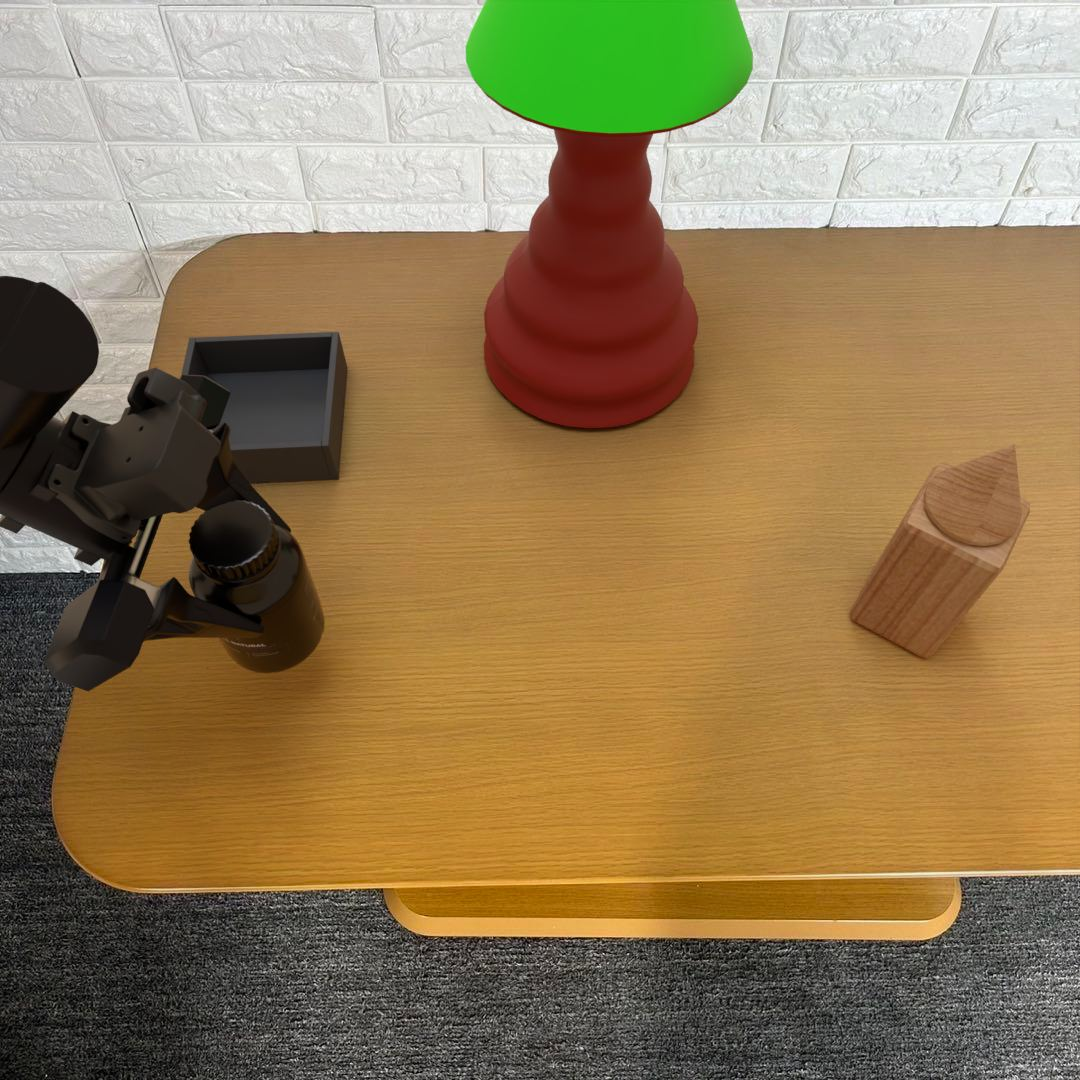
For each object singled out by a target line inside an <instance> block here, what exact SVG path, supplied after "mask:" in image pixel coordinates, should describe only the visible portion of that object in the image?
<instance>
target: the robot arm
mask: <svg viewBox="0 0 1080 1080" xmlns="http://www.w3.org/2000/svg"><path fill="white" fill-rule="evenodd" d="M99 355H100V347H99V341H98V337H97V334H96V332H95V329H94V327H93V324H92V323H91V321H90V320H89V319H88V317H87V316H86V314H85V313H84V311H83V309H81V308H80V307H79V306H78V305H77V304H76V303H75V302H74V301H73V300H72V299H71V298H70V297H68V296H67V295H66V294H64V292H63V293H62V292H61V291H60V290H59V289H58V288H56V287H53V286H52V285H50V284H48V283H47V282H44V281H38V282H37V281H34V280H31V279H28V278H24V277H19V276H12V275H10V276H9V275H0V515H1V516H0V528H2V529H3V530H6V531H9V532H11V533H14V534H16V535H17V534H18V533H19V532H20V531H21V530H22V529H23V528H24V527H25V526H26V527H28V528H31V529H33V530H35V531H37V532H40V533H42V534H44V535H47V536H50V537H52V538H54V539H56V540H58V541H61V542H62V543H65V544H67V545H69V546H71V547H74V548H77V550H76V552H75V554H74V557H73V559H74V560H76V561H79V562H80V563H83V564H85V565H88V566H90V567H92V566H94V565H95V564H96V563H97V562H99V561H100V560H101V559H102V560H104V561H105V562H104V564H103V566H102V569H101V572H100V574H99V576H98V578H97V581H96V582H95V583H94V584H93V585H91V586H90V587H88V588H87V589H86V590H85V591H83V592H82V593H81V594H80V595H78V596H77V597H76V598H74V599H73V600H72V601H70V602H69V603H68V604H66V606H65V608H64V610H63V612H62V614H61V618H60V620H59V622H58V625H57V627H56V629H55V631H54V634H53V636H52V639H51V641H50V644H49V647H48V649H47V651H46V654H45V656H44V658H43V661H42V663H43V664H44V666H45V667H46V668H47V670H48V671H49V673H50V675H51V676H53V677H54V678H55V680H57V682H60V683H63V684H65V685H68V686H71V687H74V688H78V689H80V690H83V691H86V692H90V691H92V690H94V689H95V688H97V687H99V686H101V685H103V684H104V683H105V682H107V681H109V680H111V679H112V678H115V677H116V676H117V675H120V674H121V673H123V672H124V671H126V670H128V669H129V668H131V667H132V665H133V664H134V663H135V661H136V659H137V658H138V656H139V654H140V652H141V650H142V646H143V644H144V643H145V642H146V641H156V640H168V639H182V638H183V639H184V638H187V639H188V638H189V639H191V638H193V639H194V638H195V639H197V638H198V639H199V638H201V639H204V638H205V639H210V638H211V639H219V638H257V637H259V636H261V635H262V634H263V633H264V630H265V628H264V627H263V626H261V625H259V624H258V623H256V622H254V621H252V620H251V619H249V618H247V617H245V616H242V615H240V614H237V613H235V612H232V611H230V610H227V609H224V608H222V607H219V606H217V605H214V604H212V603H209V602H207V601H204V600H202V599H199V598H197V597H195V596H194V595H192V594H190V593H189V592H188V591H187V590H186V589H185V587H184V586H183V585H182V584H181V582H180V581H179V580H178V579H177V578H176V577H173V576H172V577H171V578H170V579H168V580H166V581H165V582H164V583H162V584H161V585H160V586H158V585H155V584H154V583H151V582H148V581H146V580H144V579H141V575H142V572H143V570H144V568H145V565H146V563H147V560H148V556H149V554H150V551H151V548H152V545H153V544H154V540H155V538H156V535H157V532H158V530H159V526H160V524H161V522H162V519H163V516H164V515H168V514H170V513H176V514H183V513H187V512H189V511H191V510H193V509H195V508H196V509H200V510H202V511H204V512H205V511H206V510H208V509H210V508H211V507H212V506H215V505H218V504H219V503H222V502H223V503H224V502H227V501H234V500H239V501H242V500H245V501H247V502H253V503H254V504H257V505H259V506H260V507H261V508H264V509H265V510H266V512H267V513H269V515H270V517H271V519H272V520H273V522H274V523H275V524H277V525H279V526H281V527H283V528H284V529H286V530H287V531H289V532H290V533H291V534H292V528H291V527H290V526H289V525H288V524H287V523H286V522H285V521H284V520H283V518H282V517H281V515H279V514H278V512H276V511H275V509H274V508H273V507H272V506H271V505H270V504H269V503H268V502H267V501H266V499H264V497H263V496H262V495H261V494H260V492H258V490H256V488H255V487H254V486H253V484H252V483H249V482H248V481H247V479H246V478H245V477H244V475H243V474H242V473H241V471H240V470H239V469H238V467H237V466H236V465H235V463H234V461H233V458H232V453H231V448H230V444H229V435H230V428H229V426H228V424H227V423H226V422H225V423H223V424H222V425H220V426H219V427H218V428H217V429H216V430H214V431H212V430H211V429H215V428H216V427H217V426H218V425H219V424H220V422H221V419H222V416H223V413H224V410H225V407H226V405H227V402H228V399H229V396H230V393H231V392H230V391H229V390H228V389H226V388H224V387H223V386H221V385H219V384H218V383H216V382H214V381H213V380H211V379H209V378H208V377H206V376H201V375H181V374H180V376H179V377H176V376H174V375H172V374H171V373H168V372H166V371H164V370H163V369H160V368H158V367H156V366H155V367H153V368H152V367H151V368H149V369H146V370H143V371H140V372H138V373H137V374H136V376H135V378H134V381H133V383H132V385H131V388H130V390H129V391H128V393H127V394H128V395H127V397H126V402H127V403H128V405H129V406H127V407H125V408H124V409H123V413H122V415H121V417H120V418H119V420H118V421H117V422H115V423H108V422H104V421H100V420H97V419H96V418H94V417H92V416H90V415H88V414H83V413H82V414H79V412H78V413H77V412H75V411H74V410H72V411H71V412H70V413H69V414H68V415H67V416H66V417H65V418H64V420H63V421H62V420H61V419H59V418H57V417H55V416H56V415H57V414H58V412H59V411H60V410H61V409H63V407H64V406H65V405H66V404H67V403H68V402H69V401H70V399H71V398H72V397H73V396H74V395H75V394H76V393H77V391H79V389H80V388H81V387H83V385H84V384H85V383H86V382H87V380H88V379H89V378H90V377H91V376H93V374H94V372H95V370H96V368H97V366H98V363H99ZM134 538H135V540H134V542H133V539H134ZM132 544H133V546H131V545H132Z"/></svg>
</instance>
